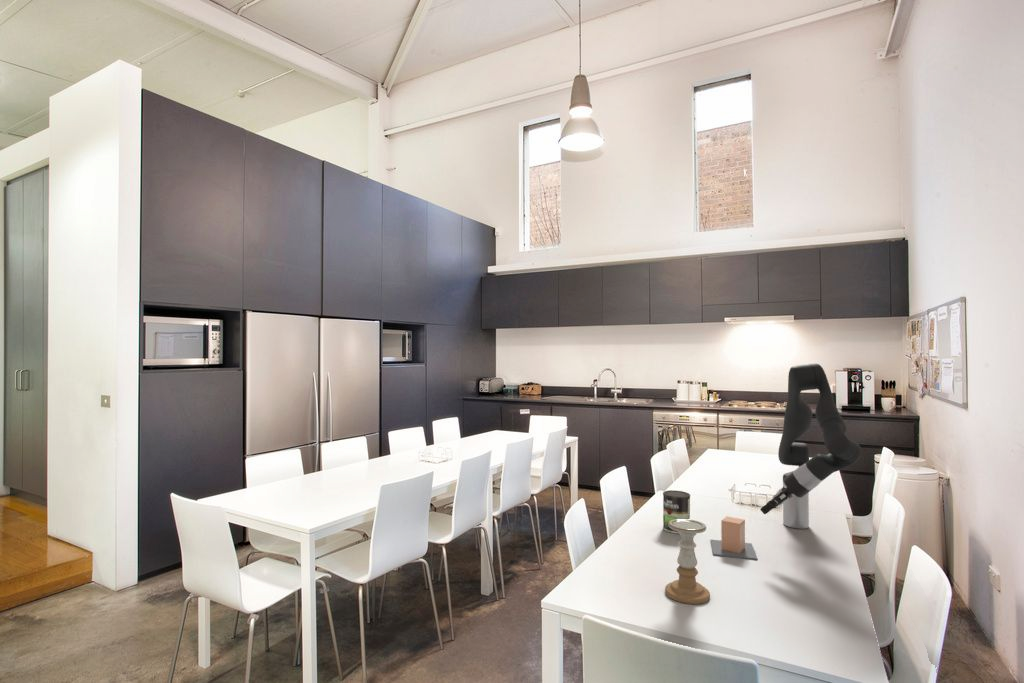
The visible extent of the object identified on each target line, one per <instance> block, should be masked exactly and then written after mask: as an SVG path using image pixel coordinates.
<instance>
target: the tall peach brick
mask: <svg viewBox="0 0 1024 683" xmlns="http://www.w3.org/2000/svg"><path fill="white" fill-rule="evenodd" d="M720 526H721V542H722V549H724V550H728V551H733V552H737V553H741V552H742V551H743V550H744V549H745V543H746V520H745V519H744V518H738V517H733V516H725V517H724V518H723V519H722V520H721V525H720Z"/></svg>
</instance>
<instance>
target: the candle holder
mask: <svg viewBox="0 0 1024 683" xmlns="http://www.w3.org/2000/svg"><path fill="white" fill-rule="evenodd" d="M668 526H669V527H670V528H671V529H673V530H675V531H678V533H679V535H680V540H679V541H678V543H677V545H678V546H679V552H678V555H677V559H676V562H677V563H678V566H677V567H676V572H677V573H678V579H676V580H673V581H671V582H669V583H667V584H666V585H665V587H664V592H665V595H666V596H667V597H668V598H670V599H671V600H674V601H675V602H679V603H682V604H687V605H700V604H705V603H707V602H708V601H710V598H711V592H710V591H709V590H708V589H707V588H706V587H705V586H704V585H702V584H701V583H699V582H697V580H696V576H697V575H698V574H699V571H698V569H697V568H696V566H697V565H698V559H697V557H696V552H695V549H696V547H697V543H696V542H695V541H694V539H695V536H696V535H698V534H702V533H704V532H706V530H707V525H706V524H705V523H703V522H701V521H698V520H696V519H695V520H694V519H674V520H671V521H669V523H668Z"/></svg>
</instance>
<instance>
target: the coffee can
mask: <svg viewBox="0 0 1024 683" xmlns="http://www.w3.org/2000/svg"><path fill="white" fill-rule="evenodd" d="M662 496H663V498H662V501H663V505H662V507H663V510H662V511H663V514H662V515H663V516H662V518H663V520H662V522H663V523H662V524H663V525H662V529H663V530H664V531H665V532H668V533H671V534H675V535H676V534H677V535H678V534H679V533H678V531H675V530H673V529H671V528H670V527H669V526H668V523H669V521H671V520H674V519H690V518H691V494H690V493H689V492H686V491H684V490H683V491H682V490H672V489H671V490H664V491H663V492H662ZM690 520H691V519H690ZM679 535H680V534H679Z"/></svg>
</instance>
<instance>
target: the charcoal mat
mask: <svg viewBox="0 0 1024 683" xmlns="http://www.w3.org/2000/svg"><path fill="white" fill-rule="evenodd" d="M710 545H711V551H712V555H713V556H717V557H727V558H735V559H745V560H755V561H758V559H759V558H758V556H757V554H756V551H755V549H754V548H755V547H754V546H753V544H752V543H750V542H745V549H744V550H743V551H742V552H741V553H737V552H733V551H728V550H724V549H722V542H721V540H720V539H710Z"/></svg>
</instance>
